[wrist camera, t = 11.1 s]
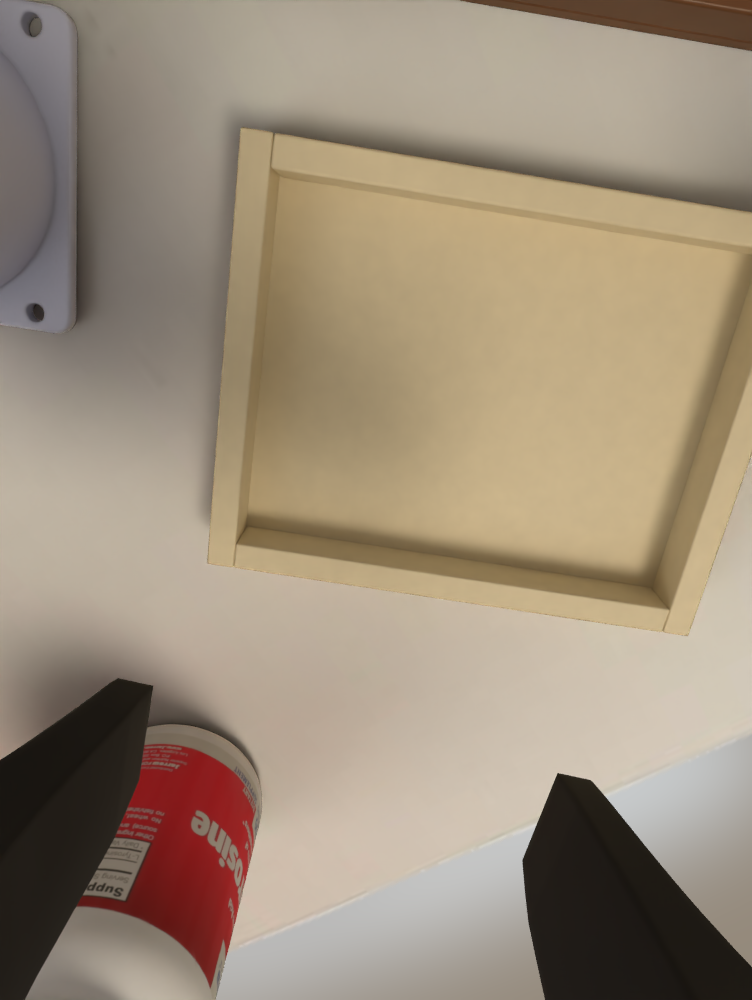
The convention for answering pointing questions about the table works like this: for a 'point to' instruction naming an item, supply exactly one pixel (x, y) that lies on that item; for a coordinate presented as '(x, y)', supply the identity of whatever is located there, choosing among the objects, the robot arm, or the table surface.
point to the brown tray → (654, 16)
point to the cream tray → (480, 384)
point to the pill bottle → (164, 879)
